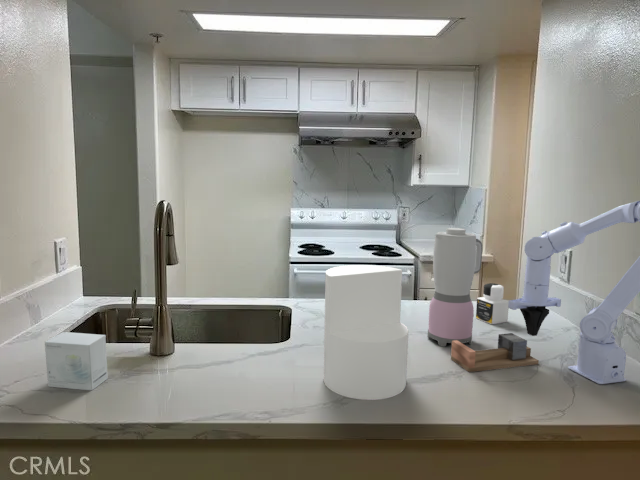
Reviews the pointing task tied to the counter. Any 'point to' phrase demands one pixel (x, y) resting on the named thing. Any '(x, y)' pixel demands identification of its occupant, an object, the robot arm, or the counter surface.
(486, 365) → the rail board
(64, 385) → the skincare box
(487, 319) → the medicine bottle
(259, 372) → the counter surface
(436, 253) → the blender
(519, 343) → the keeper
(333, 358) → the cylinder
